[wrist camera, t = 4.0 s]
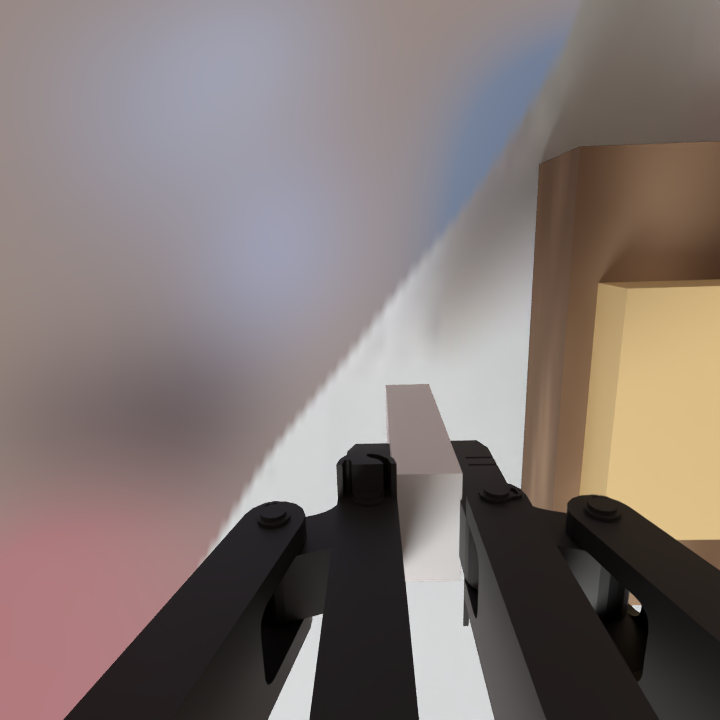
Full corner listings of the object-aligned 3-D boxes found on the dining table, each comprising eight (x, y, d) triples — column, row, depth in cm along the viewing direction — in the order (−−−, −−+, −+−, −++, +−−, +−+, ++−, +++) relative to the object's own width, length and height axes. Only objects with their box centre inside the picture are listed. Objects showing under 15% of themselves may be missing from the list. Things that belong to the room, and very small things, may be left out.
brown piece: (866, 152, 19) (989, 130, 15) (783, 543, 24) (863, 603, 20) (539, 164, 20) (579, 146, 16) (518, 546, 24) (545, 605, 20)
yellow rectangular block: (772, 277, 17) (825, 283, 15) (732, 508, 19) (773, 538, 17) (598, 282, 17) (627, 288, 15) (578, 510, 19) (601, 540, 17)
